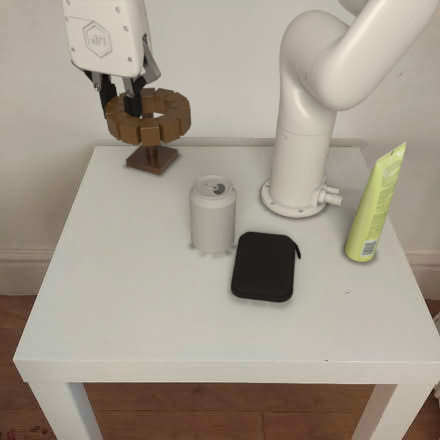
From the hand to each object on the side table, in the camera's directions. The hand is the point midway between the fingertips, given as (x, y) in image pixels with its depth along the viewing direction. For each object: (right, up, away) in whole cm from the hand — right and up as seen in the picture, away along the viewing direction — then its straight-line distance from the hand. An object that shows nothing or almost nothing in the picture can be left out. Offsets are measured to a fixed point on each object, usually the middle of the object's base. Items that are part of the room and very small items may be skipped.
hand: (123, 116), depth 66 cm
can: (+13, -17, +14) cm, 25 cm away
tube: (+38, -19, +12) cm, 44 cm away
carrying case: (+22, -22, +9) cm, 32 cm away
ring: (+4, -1, -1) cm, 4 cm away
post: (0, +2, +30) cm, 30 cm away
